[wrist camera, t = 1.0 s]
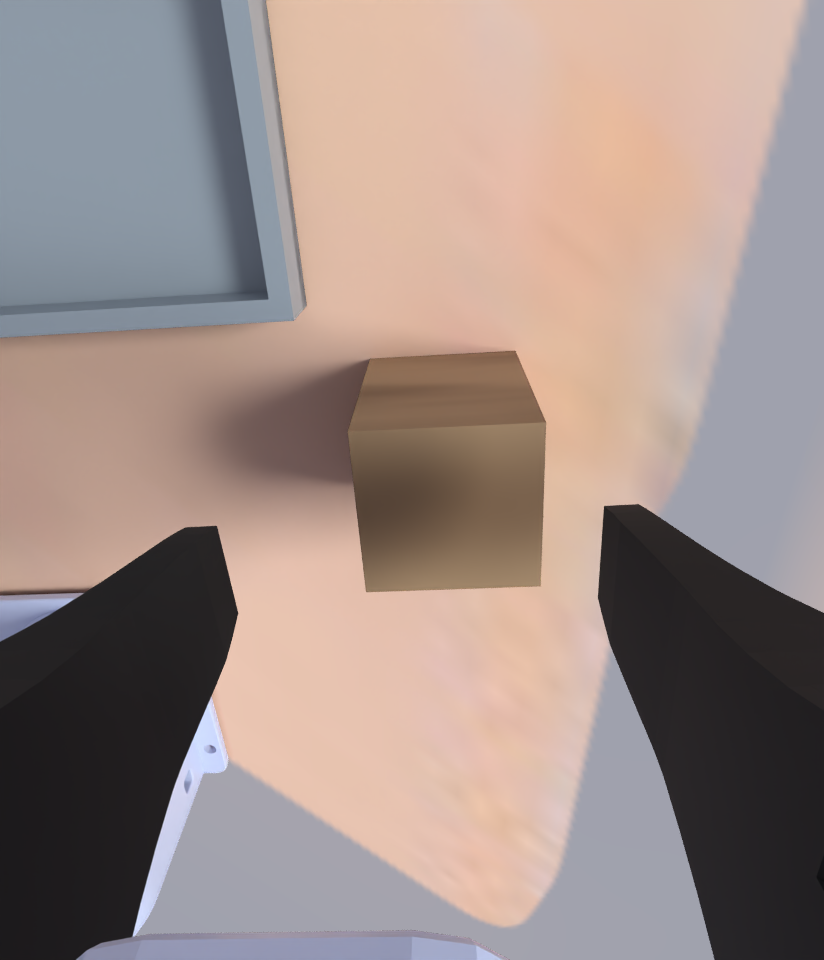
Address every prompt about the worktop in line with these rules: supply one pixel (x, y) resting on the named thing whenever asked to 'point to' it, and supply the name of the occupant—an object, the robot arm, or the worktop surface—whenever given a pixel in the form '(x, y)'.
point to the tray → (142, 168)
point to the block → (448, 473)
